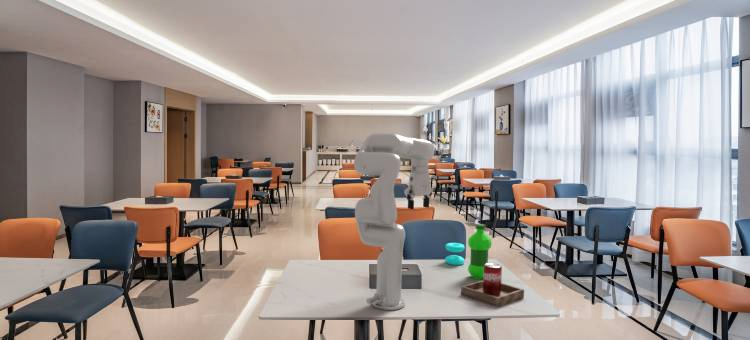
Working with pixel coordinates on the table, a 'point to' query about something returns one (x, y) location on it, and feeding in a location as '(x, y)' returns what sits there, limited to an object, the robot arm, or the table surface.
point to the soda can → (492, 279)
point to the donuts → (454, 258)
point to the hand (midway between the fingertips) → (418, 208)
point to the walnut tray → (505, 297)
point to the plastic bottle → (478, 251)
